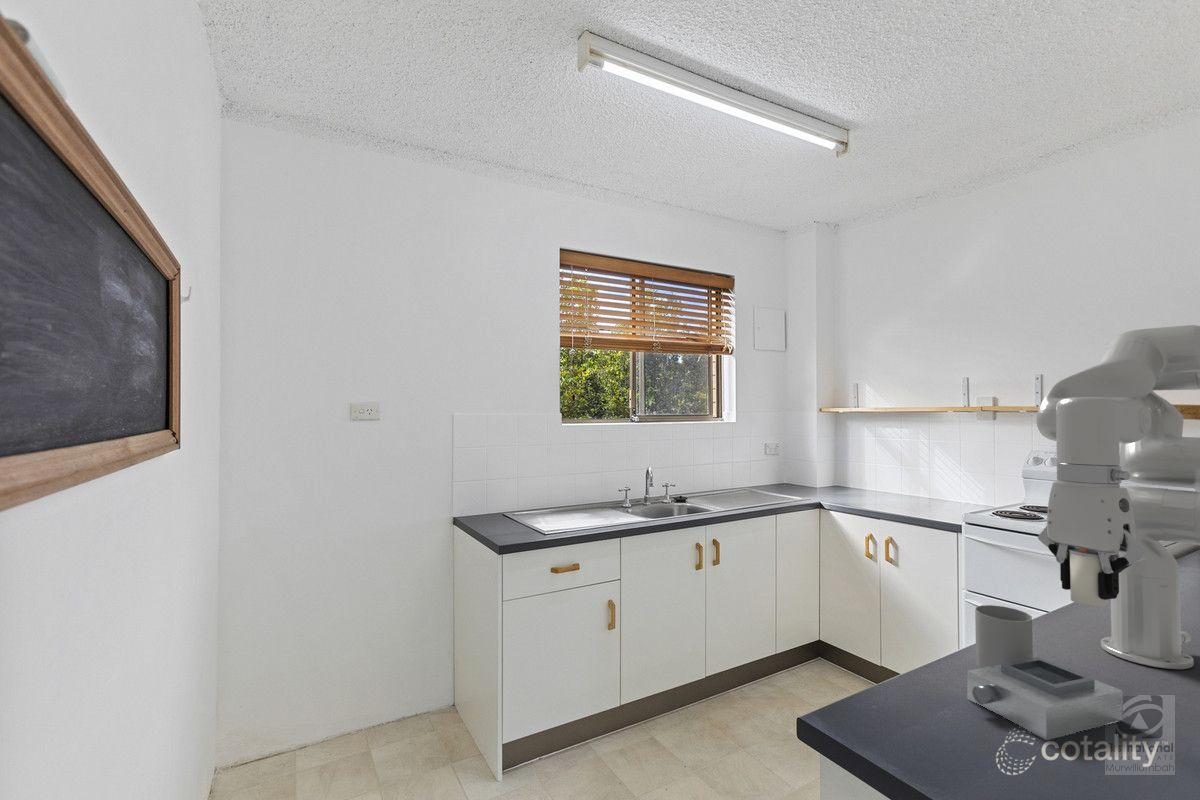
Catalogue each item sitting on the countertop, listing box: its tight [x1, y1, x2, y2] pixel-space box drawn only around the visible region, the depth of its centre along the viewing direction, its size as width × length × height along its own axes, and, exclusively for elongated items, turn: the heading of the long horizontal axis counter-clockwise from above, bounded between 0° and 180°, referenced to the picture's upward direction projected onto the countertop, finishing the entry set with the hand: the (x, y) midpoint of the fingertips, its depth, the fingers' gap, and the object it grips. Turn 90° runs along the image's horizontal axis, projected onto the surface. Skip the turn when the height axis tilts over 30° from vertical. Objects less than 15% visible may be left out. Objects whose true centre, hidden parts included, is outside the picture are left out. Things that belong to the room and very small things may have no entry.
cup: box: [974, 604, 1034, 669], centre depth 102 cm, size 8×8×10 cm
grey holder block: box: [966, 656, 1124, 741], centre depth 88 cm, size 18×12×6 cm, turn 108°
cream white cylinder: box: [1069, 548, 1109, 608], centre depth 89 cm, size 4×4×9 cm
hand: (1088, 592), depth 89 cm, fingers closed on cream white cylinder, 4 cm apart
